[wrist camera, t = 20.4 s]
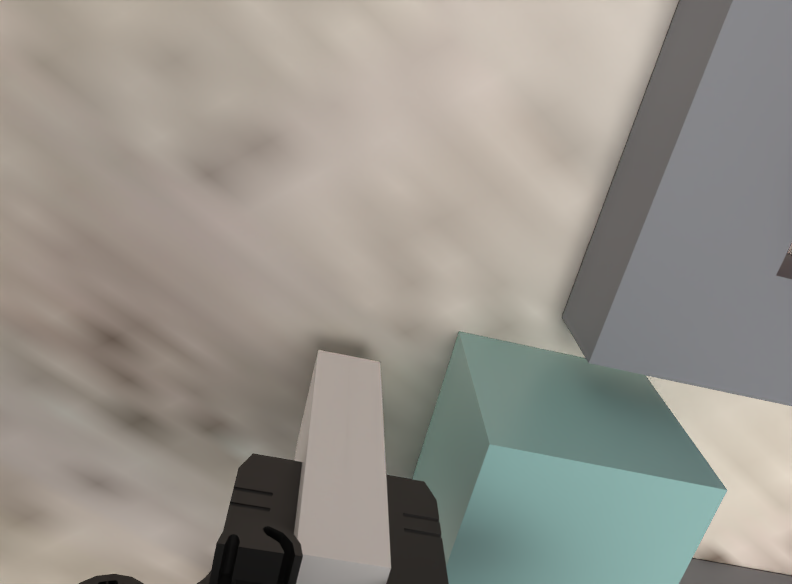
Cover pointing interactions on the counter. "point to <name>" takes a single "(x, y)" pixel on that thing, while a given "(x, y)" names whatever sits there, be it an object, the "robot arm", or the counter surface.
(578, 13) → the counter surface
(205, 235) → the counter surface
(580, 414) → the teal cube block
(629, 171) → the grey flat pieces
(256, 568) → the robot arm
